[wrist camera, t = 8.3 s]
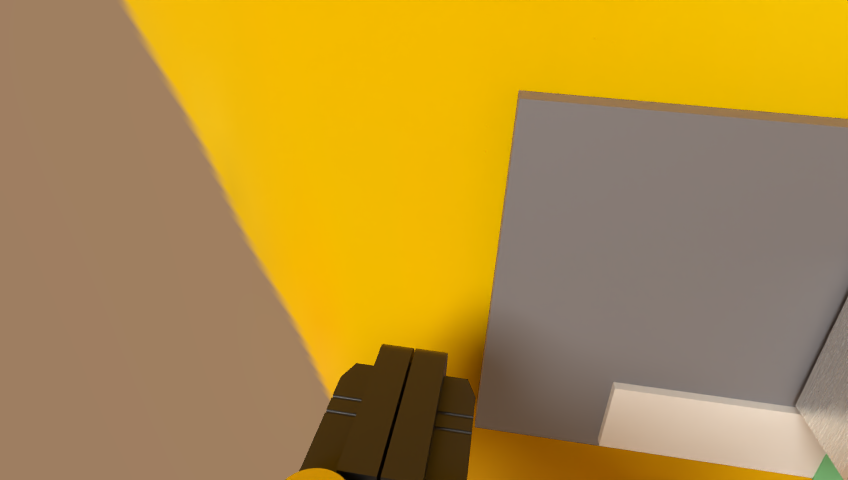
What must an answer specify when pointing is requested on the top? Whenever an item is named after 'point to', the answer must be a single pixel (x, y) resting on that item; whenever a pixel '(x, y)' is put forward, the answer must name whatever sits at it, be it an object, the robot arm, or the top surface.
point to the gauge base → (667, 279)
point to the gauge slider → (830, 395)
